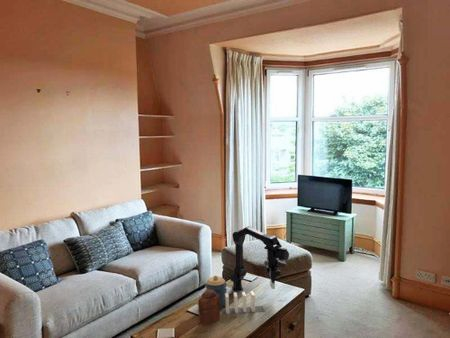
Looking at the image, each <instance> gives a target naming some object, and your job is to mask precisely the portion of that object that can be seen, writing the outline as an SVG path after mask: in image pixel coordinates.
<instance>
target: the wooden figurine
mask: <svg viewBox="0 0 450 338" xmlns="http://www.w3.org/2000/svg"><path fill="white" fill-rule="evenodd" d="M205 290H206V289H205ZM205 290H204V291H203V292H202V293H201V296H200V298H198V307H197V310H198V311H197V312H198V314H199V324H200V325H201V326H208V325H211V324H213V323H216V322H219V320H220V319H221V318H220V317H221V307H219V304H220V299H219V295H217V293H216V292H215V291H214V290H206V291H205Z"/></svg>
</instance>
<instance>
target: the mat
mask: <svg viewBox="0 0 450 338" xmlns="http://www.w3.org/2000/svg"><path fill="white" fill-rule="evenodd" d="M221 312H222V316H228V315H230V316H232V315H240V314H241V315H243V314H254V313H255V314H256V313H265V312H266V311H265V308H264V305H255V312H252V310H251V306H246V312H243V308H242V306H241V307H238V313H235V311H234V307H229V314H226V308H221Z"/></svg>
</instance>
